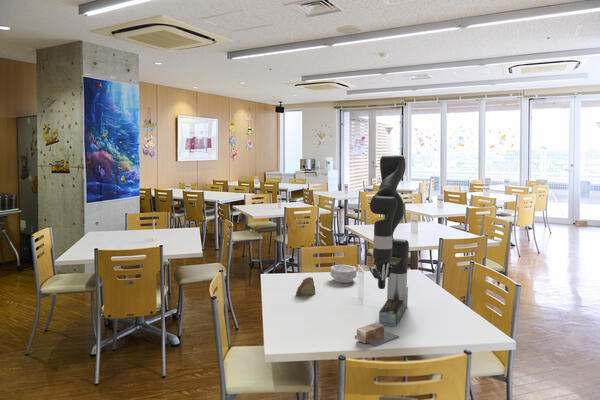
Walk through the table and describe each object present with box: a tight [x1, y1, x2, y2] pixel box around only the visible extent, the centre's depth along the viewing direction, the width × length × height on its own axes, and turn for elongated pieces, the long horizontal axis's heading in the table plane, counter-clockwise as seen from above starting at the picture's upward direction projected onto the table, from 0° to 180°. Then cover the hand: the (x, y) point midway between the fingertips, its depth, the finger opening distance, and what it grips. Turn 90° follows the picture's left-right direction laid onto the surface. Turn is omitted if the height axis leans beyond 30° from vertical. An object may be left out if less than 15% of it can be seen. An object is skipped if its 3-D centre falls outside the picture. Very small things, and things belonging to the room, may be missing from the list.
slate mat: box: [354, 329, 400, 347], centre depth 185 cm, size 14×11×1 cm
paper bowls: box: [330, 264, 358, 284], centre depth 266 cm, size 15×15×8 cm
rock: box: [295, 276, 316, 297], centre depth 240 cm, size 11×9×10 cm
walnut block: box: [356, 322, 385, 344], centre depth 182 cm, size 4×4×11 cm
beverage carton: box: [378, 299, 405, 327], centre depth 206 cm, size 8×19×7 cm, turn 157°
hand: (381, 288), depth 184 cm, fingers closed
